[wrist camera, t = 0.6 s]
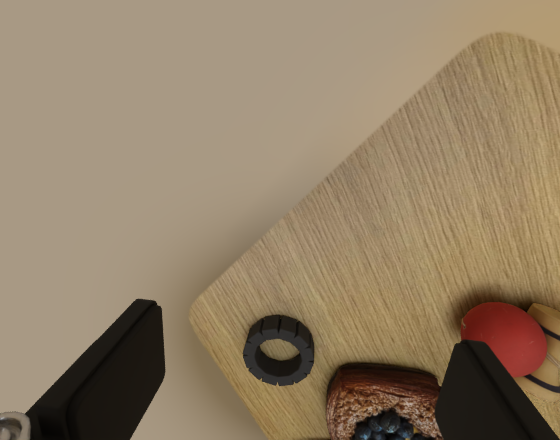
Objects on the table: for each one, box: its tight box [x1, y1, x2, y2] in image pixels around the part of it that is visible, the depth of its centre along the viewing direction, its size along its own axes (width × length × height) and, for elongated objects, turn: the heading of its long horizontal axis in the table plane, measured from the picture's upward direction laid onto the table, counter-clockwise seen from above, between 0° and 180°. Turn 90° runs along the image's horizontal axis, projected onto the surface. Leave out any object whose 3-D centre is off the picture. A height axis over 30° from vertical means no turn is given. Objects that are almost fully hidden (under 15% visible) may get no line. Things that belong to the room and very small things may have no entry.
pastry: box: [326, 364, 443, 440], centre depth 31 cm, size 11×12×6 cm
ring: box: [243, 315, 314, 386], centre depth 32 cm, size 7×7×2 cm
